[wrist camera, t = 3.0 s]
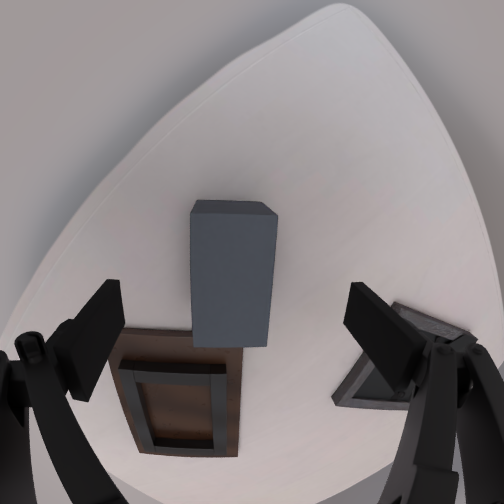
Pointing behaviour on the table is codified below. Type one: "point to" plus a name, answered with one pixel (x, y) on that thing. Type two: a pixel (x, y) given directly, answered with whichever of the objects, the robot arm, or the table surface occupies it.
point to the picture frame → (372, 382)
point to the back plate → (178, 393)
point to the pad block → (231, 272)
